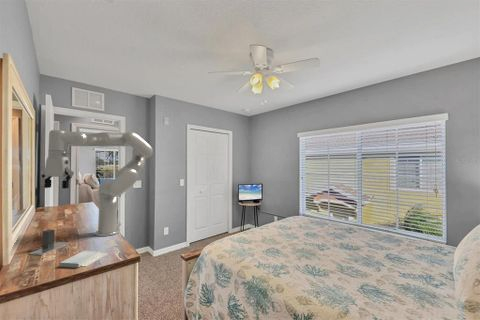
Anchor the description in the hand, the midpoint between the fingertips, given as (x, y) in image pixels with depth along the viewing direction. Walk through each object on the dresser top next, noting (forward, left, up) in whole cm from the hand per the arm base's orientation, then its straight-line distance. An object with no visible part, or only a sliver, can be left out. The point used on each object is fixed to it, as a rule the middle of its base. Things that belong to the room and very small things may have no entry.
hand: (56, 187), depth 111 cm
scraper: (+6, +4, -29) cm, 30 cm away
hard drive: (+16, +28, -28) cm, 43 cm away
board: (+14, +29, -28) cm, 43 cm away
